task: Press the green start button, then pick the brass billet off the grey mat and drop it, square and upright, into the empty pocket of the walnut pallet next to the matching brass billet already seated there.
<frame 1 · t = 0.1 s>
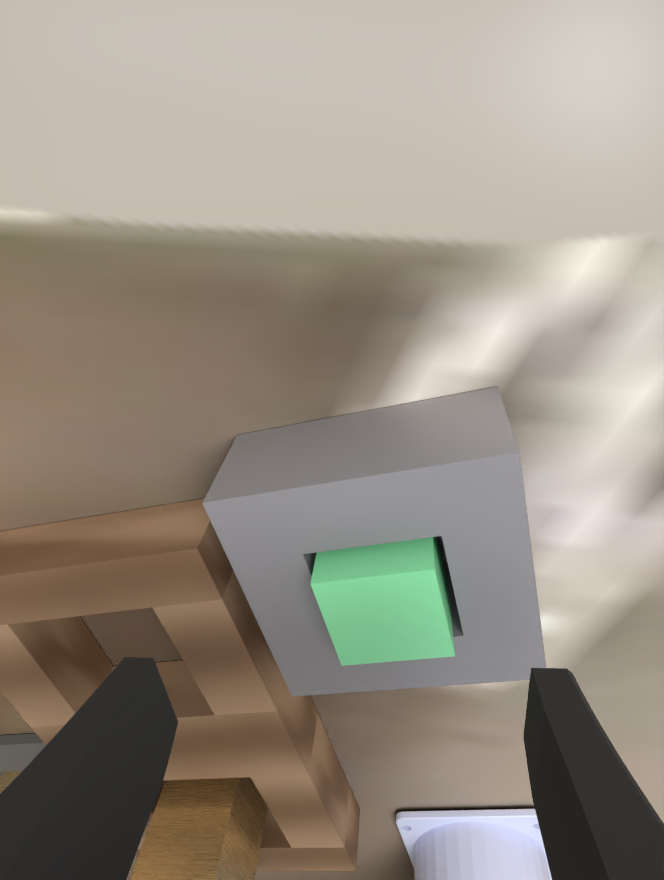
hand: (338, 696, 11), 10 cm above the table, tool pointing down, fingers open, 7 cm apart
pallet: (190, 691, 28), on the table
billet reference: (228, 755, 30), resting in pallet
button housing: (388, 516, 21), on the table
mat: (54, 779, 34), on the table
start button: (386, 584, 18), point 3 cm above the table, slide at 0.0 cm
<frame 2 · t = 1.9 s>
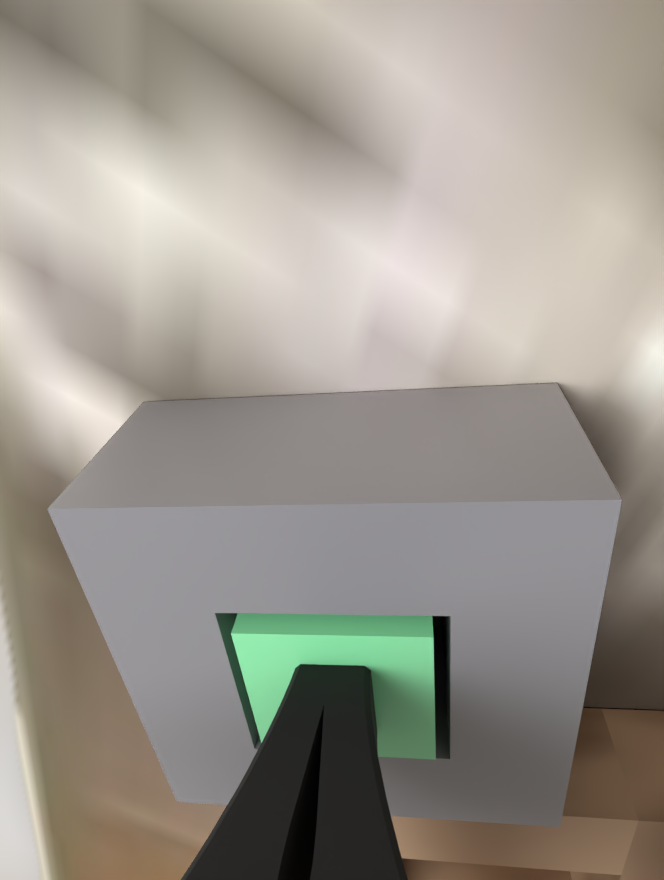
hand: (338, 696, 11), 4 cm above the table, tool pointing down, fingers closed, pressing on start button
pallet: (649, 822, 19), on the table
button housing: (355, 552, 14), on the table
start button: (346, 637, 12), point 3 cm above the table, slide at 0.8 cm, touching gripper
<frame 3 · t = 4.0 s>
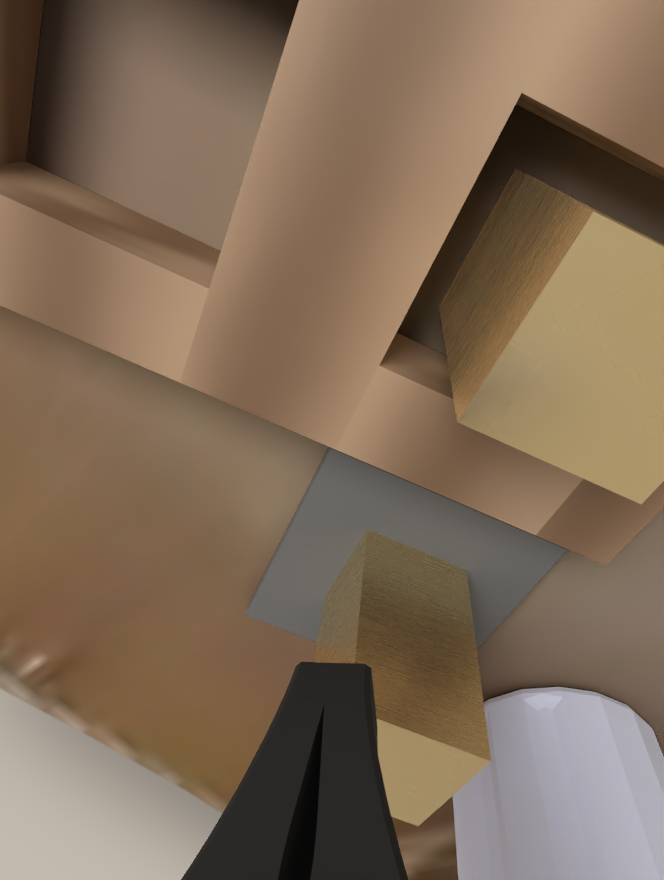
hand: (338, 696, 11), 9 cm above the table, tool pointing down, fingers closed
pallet: (358, 185, 15), on the table
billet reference: (538, 273, 16), resting in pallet
soap bottle: (547, 739, 26), on the table
mat: (392, 573, 22), on the table
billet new: (392, 585, 21), point 1 cm above the table, touching mat
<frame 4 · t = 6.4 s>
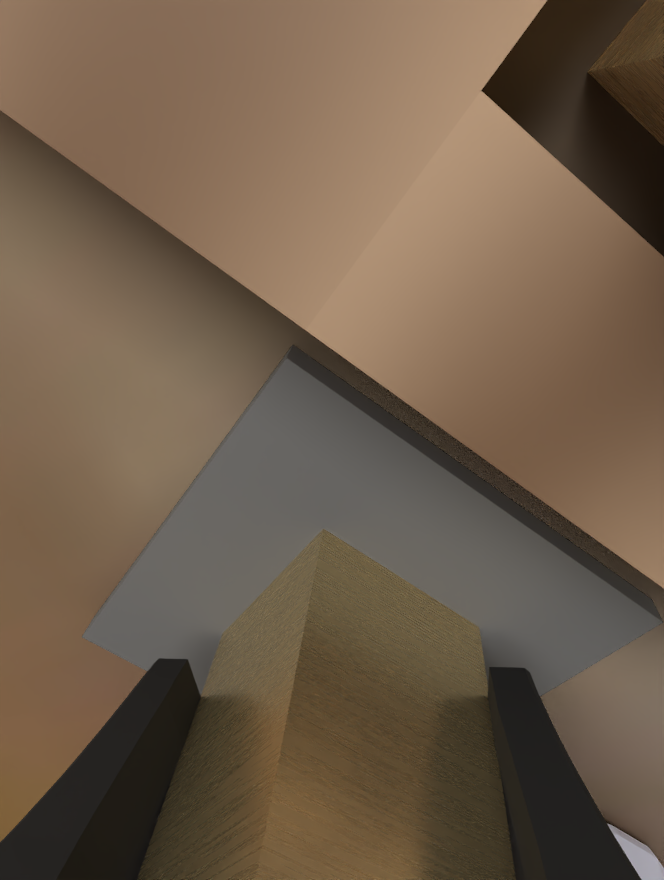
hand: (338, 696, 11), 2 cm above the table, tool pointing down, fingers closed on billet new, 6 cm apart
soap bottle: (511, 865, 18), on the table
mat: (347, 609, 13), on the table
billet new: (345, 630, 12), point 1 cm above the table, touching gripper, mat
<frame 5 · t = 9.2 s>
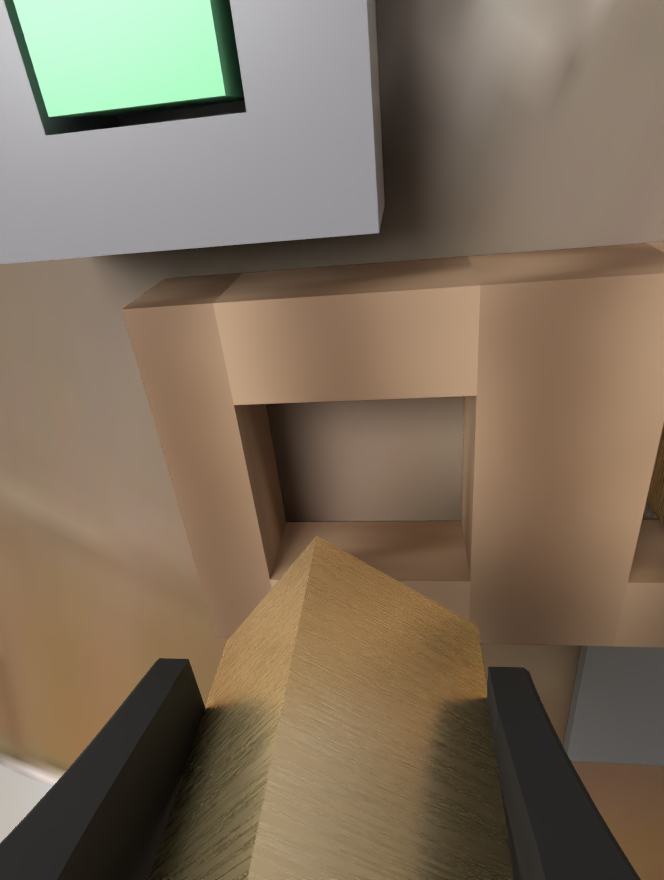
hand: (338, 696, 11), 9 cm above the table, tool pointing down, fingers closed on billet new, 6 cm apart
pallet: (536, 441, 18), on the table
button housing: (186, 20, 13), on the table
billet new: (346, 633, 12), point 8 cm above the table, touching gripper
start button: (141, 1, 11), point 3 cm above the table, slide at 0.8 cm
when the fingers open (3 cm above the table, at t = 12.1 s): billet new drops 2 cm, resting in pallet.
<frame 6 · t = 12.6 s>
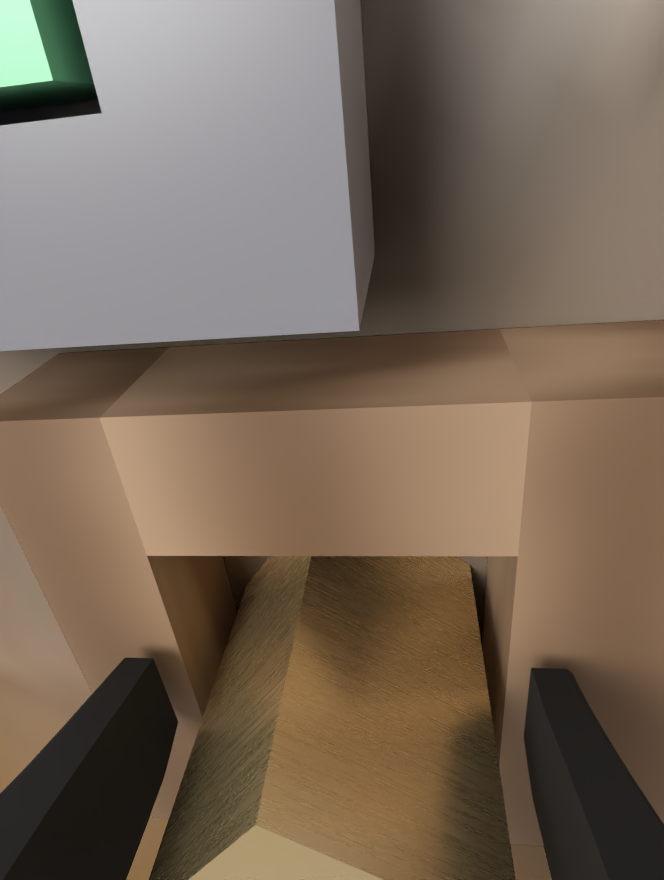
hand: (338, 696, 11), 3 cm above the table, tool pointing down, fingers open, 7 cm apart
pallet: (589, 573, 13), on the table
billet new: (353, 575, 14), resting in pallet
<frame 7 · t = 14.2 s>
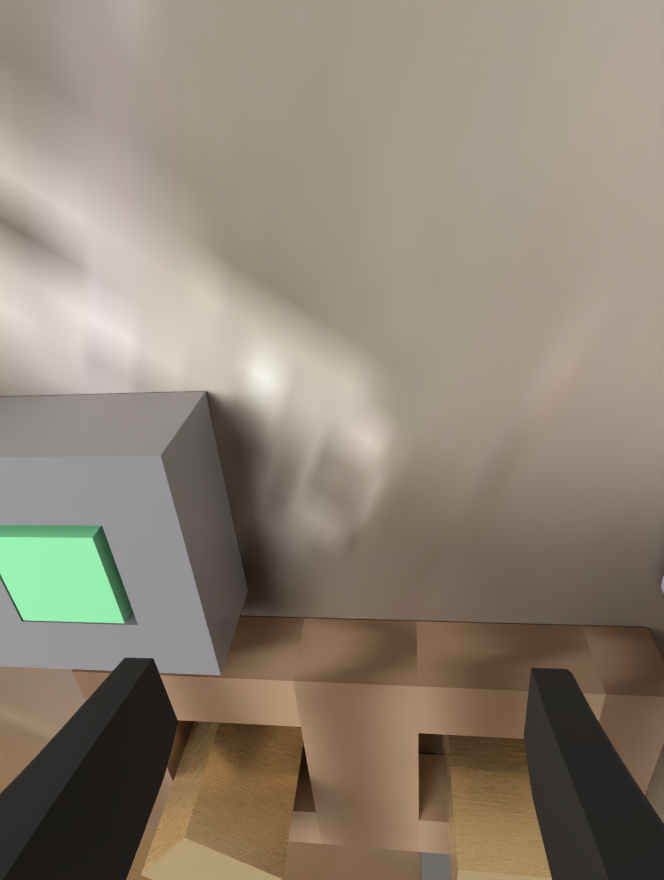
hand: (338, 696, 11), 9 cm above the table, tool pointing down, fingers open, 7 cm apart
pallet: (366, 710, 26), on the table
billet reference: (488, 715, 25), resting in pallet
button housing: (114, 501, 21), on the table
mat: (503, 851, 31), on the table
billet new: (252, 706, 27), resting in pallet
start button: (79, 549, 19), point 3 cm above the table, slide at 0.8 cm
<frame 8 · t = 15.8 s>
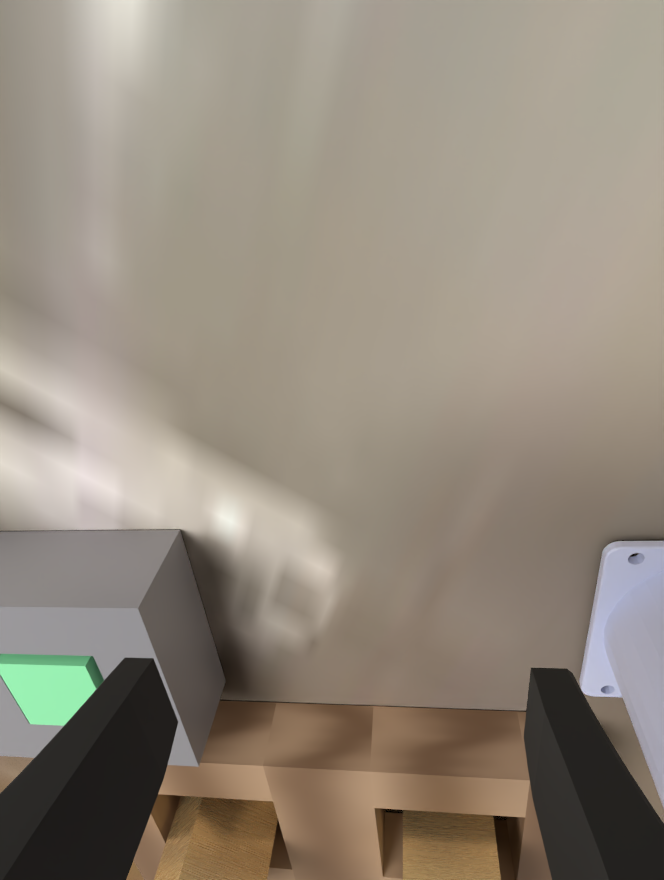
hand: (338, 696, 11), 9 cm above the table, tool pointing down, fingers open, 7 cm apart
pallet: (337, 776, 29), on the table
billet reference: (444, 781, 28), resting in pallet
button housing: (107, 610, 25), on the table
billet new: (236, 771, 30), resting in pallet
start button: (76, 662, 22), point 3 cm above the table, slide at 0.8 cm
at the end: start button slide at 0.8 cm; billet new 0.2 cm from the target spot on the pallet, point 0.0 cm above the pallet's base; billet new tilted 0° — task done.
